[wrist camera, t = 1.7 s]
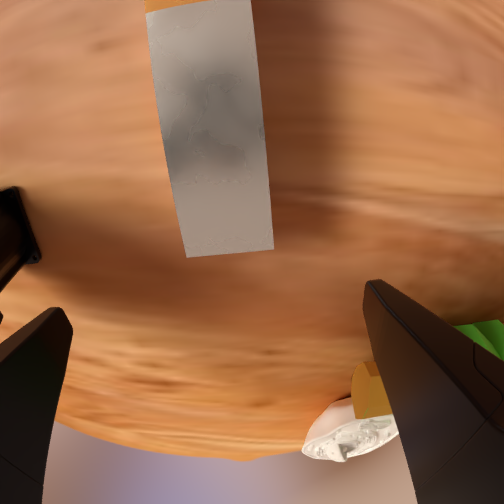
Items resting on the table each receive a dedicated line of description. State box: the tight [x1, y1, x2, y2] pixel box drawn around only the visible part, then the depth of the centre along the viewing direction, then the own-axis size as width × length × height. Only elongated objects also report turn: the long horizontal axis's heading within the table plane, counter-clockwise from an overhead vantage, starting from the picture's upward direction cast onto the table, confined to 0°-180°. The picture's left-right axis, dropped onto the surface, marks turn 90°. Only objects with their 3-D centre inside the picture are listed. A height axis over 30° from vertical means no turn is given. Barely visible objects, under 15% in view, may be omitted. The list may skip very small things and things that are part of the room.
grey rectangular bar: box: [144, 0, 274, 258], centre depth 13 cm, size 20×4×5 cm, turn 6°
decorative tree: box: [351, 320, 504, 419], centre depth 23 cm, size 11×12×30 cm
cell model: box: [302, 398, 399, 462], centre depth 29 cm, size 10×12×7 cm
